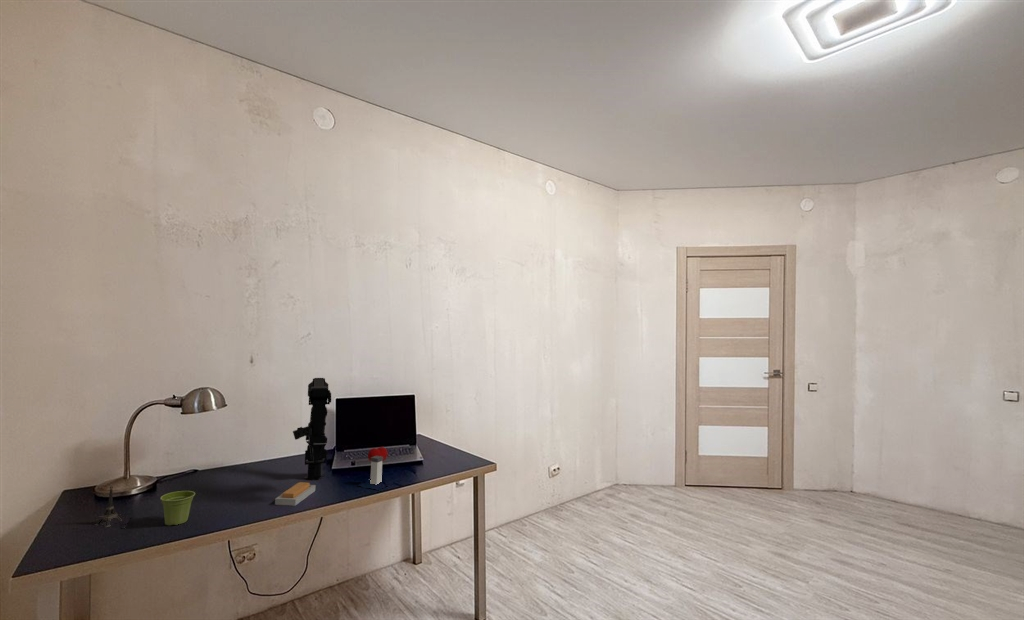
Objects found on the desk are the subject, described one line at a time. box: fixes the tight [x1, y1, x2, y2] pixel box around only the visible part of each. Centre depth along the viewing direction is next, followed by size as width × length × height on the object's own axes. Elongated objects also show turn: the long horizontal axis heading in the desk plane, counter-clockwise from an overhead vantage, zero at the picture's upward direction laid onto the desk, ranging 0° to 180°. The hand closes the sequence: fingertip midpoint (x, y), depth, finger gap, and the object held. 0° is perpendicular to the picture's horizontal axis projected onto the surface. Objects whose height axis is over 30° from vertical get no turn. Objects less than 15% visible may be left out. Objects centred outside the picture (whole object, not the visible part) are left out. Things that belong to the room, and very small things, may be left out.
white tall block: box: [369, 456, 384, 485], centre depth 198 cm, size 4×4×11 cm
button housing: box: [274, 484, 317, 507], centre depth 180 cm, size 16×8×2 cm, turn 178°
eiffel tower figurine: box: [94, 483, 126, 529], centre depth 154 cm, size 15×10×13 cm
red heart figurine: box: [367, 446, 388, 463], centre depth 218 cm, size 9×7×10 cm
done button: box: [281, 481, 310, 498], centre depth 181 cm, size 13×4×2 cm, turn 178°
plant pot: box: [160, 490, 196, 526], centre depth 156 cm, size 9×9×9 cm
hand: (314, 461), depth 182 cm, fingers open, 9 cm apart
